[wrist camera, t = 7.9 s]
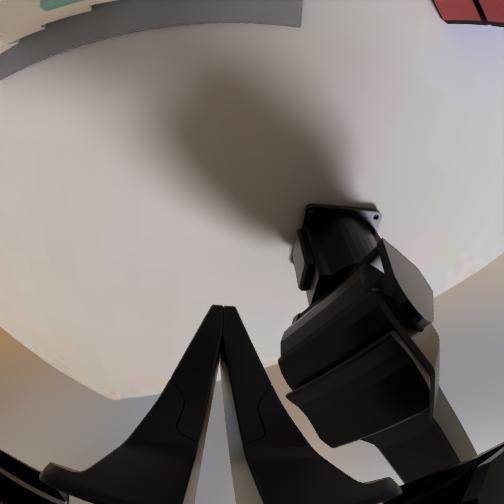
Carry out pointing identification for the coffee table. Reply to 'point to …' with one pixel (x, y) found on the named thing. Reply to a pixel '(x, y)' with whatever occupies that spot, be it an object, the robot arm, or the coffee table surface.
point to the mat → (141, 23)
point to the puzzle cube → (472, 11)
